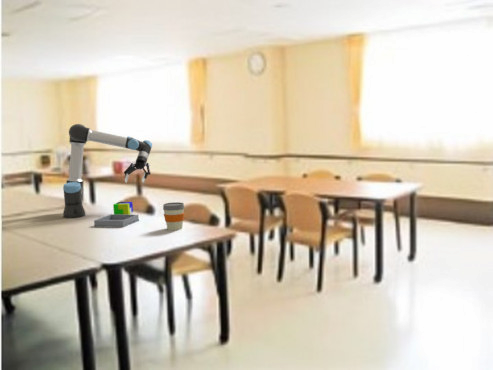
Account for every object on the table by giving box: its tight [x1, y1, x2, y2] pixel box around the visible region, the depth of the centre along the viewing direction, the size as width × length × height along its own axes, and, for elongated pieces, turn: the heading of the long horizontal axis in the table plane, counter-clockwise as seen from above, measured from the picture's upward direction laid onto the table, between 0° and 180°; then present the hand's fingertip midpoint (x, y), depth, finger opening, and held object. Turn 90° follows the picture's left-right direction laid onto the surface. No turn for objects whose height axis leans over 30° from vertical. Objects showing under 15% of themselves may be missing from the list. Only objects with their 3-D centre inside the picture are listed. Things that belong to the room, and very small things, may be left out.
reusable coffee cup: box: [162, 201, 185, 231], centre depth 318 cm, size 13×13×15 cm
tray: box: [93, 213, 140, 228], centre depth 341 cm, size 20×20×4 cm
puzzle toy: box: [112, 201, 134, 215], centre depth 362 cm, size 10×10×10 cm
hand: (133, 181), depth 376 cm, fingers open, 13 cm apart
